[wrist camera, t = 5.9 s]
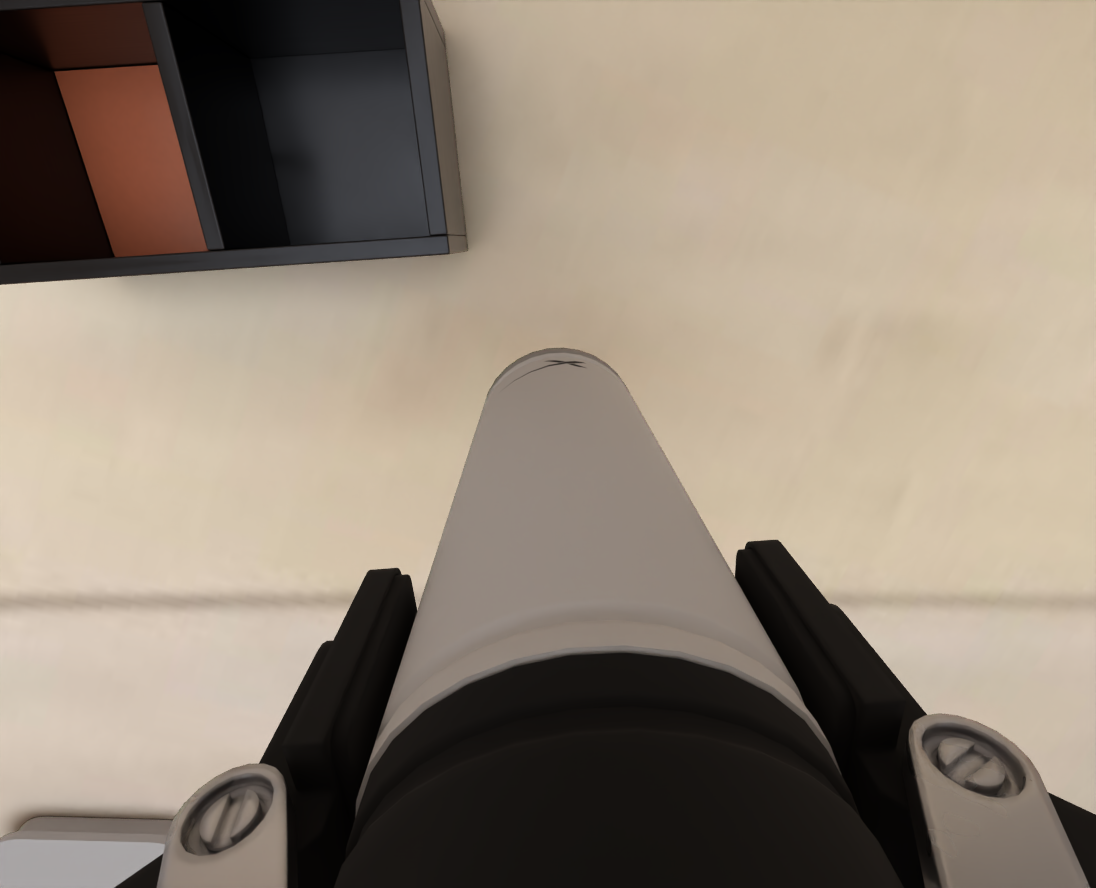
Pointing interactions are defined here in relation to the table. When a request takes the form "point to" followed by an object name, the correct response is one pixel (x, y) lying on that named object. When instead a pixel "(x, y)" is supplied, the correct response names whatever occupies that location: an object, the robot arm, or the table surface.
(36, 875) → the grey flat block
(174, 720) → the table surface
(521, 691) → the travel mug
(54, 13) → the caddy
